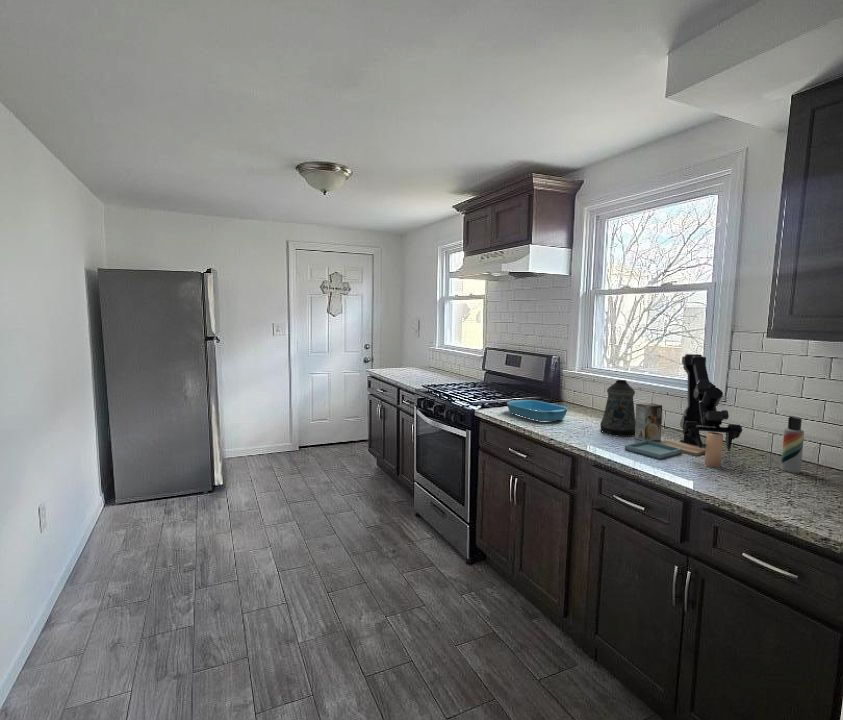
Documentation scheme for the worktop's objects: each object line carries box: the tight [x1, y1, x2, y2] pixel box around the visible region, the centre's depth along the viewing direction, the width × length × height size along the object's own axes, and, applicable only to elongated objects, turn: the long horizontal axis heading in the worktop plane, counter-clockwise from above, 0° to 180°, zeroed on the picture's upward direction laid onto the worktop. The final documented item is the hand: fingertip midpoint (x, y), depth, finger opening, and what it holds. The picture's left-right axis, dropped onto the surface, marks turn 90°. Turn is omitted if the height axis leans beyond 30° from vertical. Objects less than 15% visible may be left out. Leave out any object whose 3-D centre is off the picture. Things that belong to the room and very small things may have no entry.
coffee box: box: [634, 402, 663, 442], centre depth 212 cm, size 9×6×16 cm
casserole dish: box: [506, 399, 569, 422], centre depth 258 cm, size 37×22×7 cm, turn 27°
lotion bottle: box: [780, 415, 805, 474], centre depth 169 cm, size 6×6×20 cm
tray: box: [624, 440, 682, 460], centre depth 193 cm, size 15×15×2 cm
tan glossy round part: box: [704, 431, 724, 468], centre depth 175 cm, size 5×5×12 cm
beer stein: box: [599, 379, 636, 437], centre depth 226 cm, size 16×19×25 cm
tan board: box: [658, 439, 706, 457], centre depth 197 cm, size 11×17×1 cm, turn 32°
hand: (715, 448), depth 174 cm, fingers open, 9 cm apart
